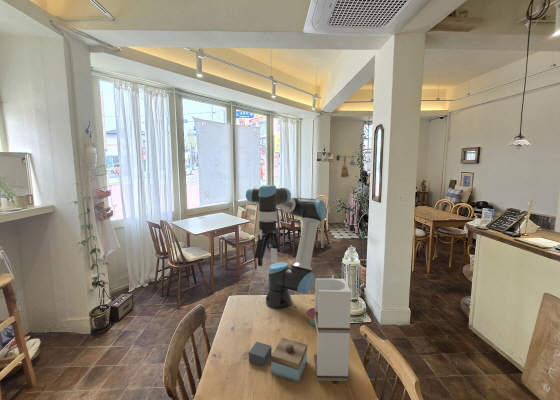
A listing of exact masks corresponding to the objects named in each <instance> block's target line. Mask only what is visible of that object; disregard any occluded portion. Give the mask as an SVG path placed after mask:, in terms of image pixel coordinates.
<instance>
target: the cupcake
mask: <svg viewBox="0 0 560 400" xmlns="http://www.w3.org/2000/svg"><path fill="white" fill-rule="evenodd" d="M305 313H306V314H305V315H306V319H308V321H309V324H311V325H312V326H316V323H315V307H312V308H309V309H308V310H307V311H306V312H305Z"/></svg>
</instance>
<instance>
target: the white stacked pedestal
mask: <svg viewBox="0 0 560 400" xmlns="http://www.w3.org/2000/svg"><path fill="white" fill-rule="evenodd" d="M314 282H315V284H314V288H315V289H314V308H315V323H316V325H315V329H316V334H317V345H316V346H317V350H316V353H317V354H313V364H314V369H315V375H316V381H318V382H319V381H323V382H324V381H325V382H349V366H350V365H349V362H350V335H351V311H352V310H351V309H352V308H351V307H352V290H351V289H350V287H349V285H348V283H347V281H346V279H345V278H330V277H329V278H324V277H323V278H321V277H320V278H318V277H317V278H315V277H314Z"/></svg>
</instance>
